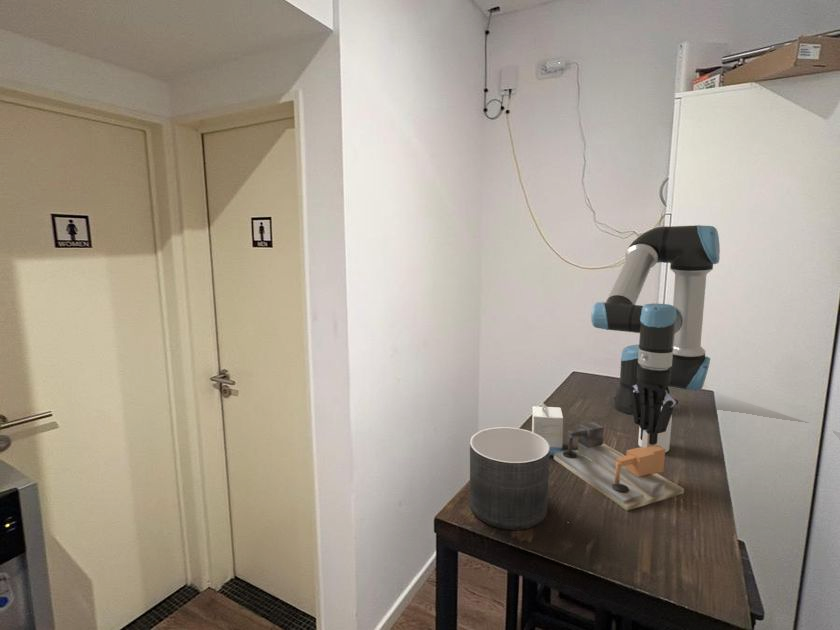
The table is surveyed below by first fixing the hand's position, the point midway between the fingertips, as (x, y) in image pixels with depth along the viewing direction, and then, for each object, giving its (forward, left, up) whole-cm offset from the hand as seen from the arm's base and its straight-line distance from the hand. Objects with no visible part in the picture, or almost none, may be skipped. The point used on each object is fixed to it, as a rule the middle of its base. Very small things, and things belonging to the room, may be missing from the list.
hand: (647, 453), depth 114 cm
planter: (+40, -3, -6) cm, 41 cm away
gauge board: (+7, -4, -6) cm, 10 cm away
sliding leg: (+7, +3, -3) cm, 8 cm away
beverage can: (-15, -11, -6) cm, 19 cm away
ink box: (+14, -23, -6) cm, 27 cm away
